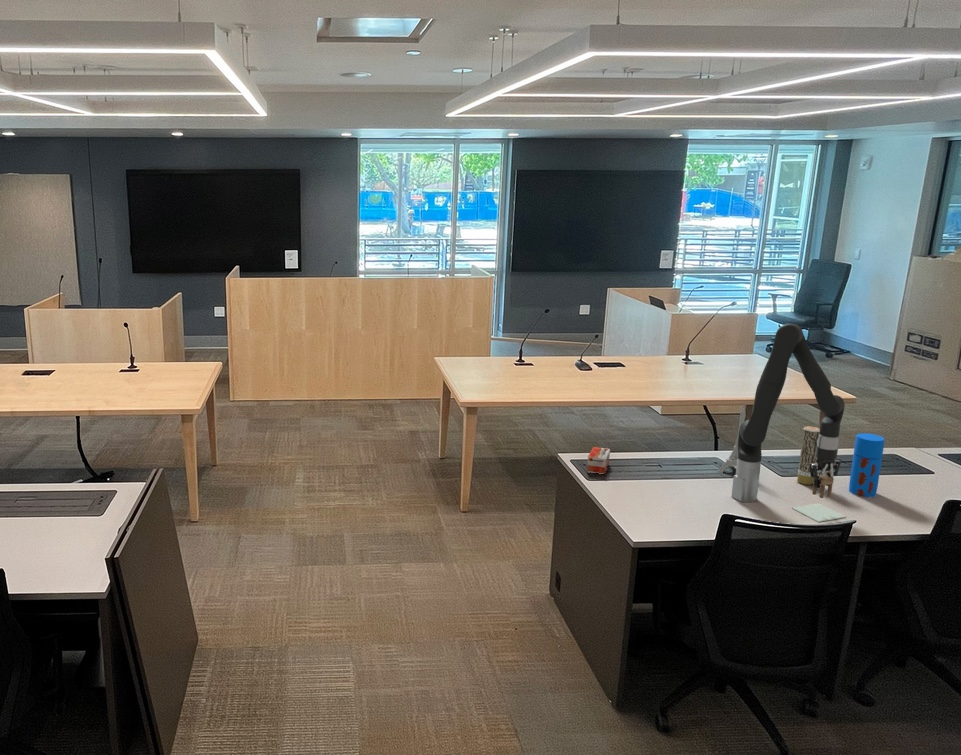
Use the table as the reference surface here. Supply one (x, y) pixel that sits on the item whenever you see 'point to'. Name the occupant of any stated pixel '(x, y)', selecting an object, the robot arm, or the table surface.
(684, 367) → the table surface
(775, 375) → the robot arm
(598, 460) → the medicine box
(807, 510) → the pad
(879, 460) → the thermos
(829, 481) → the stool
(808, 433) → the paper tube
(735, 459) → the eiffel tower
